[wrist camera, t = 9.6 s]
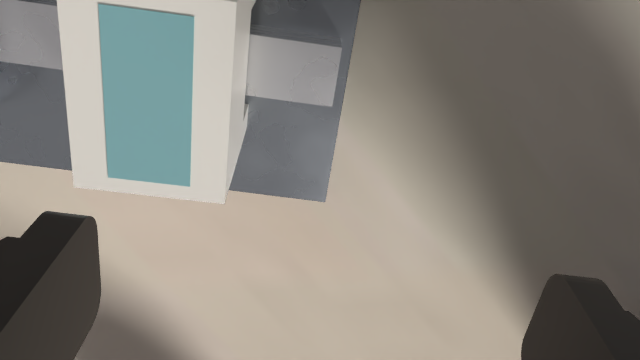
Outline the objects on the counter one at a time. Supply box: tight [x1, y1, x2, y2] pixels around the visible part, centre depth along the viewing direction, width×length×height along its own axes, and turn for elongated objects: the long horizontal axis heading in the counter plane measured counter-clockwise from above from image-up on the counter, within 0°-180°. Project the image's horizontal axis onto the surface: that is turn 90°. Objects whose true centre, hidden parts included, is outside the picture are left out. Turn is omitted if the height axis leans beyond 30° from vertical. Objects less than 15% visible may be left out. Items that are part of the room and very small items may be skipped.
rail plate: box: [0, 0, 361, 202], centre depth 19 cm, size 16×12×5 cm
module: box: [57, 0, 256, 204], centre depth 18 cm, size 4×6×6 cm
